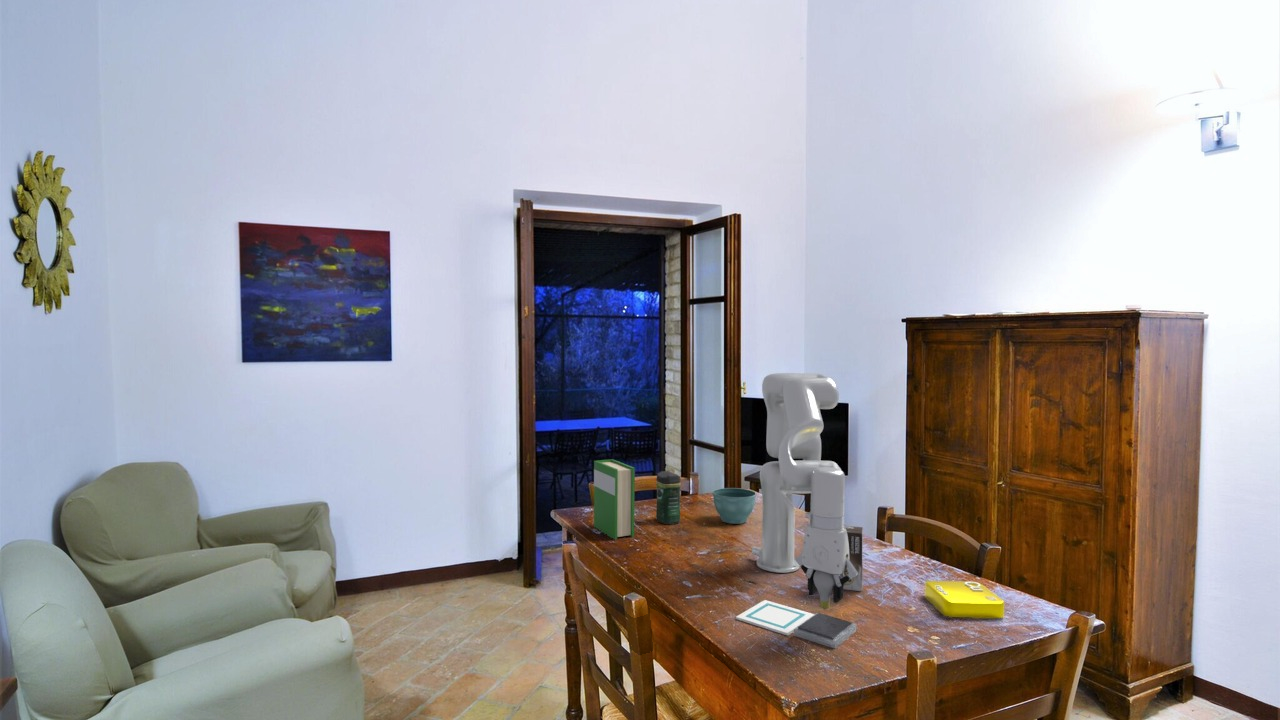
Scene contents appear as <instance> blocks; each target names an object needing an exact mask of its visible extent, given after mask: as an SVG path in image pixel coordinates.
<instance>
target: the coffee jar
mask: <svg viewBox="0 0 1280 720" xmlns="http://www.w3.org/2000/svg"><path fill="white" fill-rule="evenodd" d="M681 484H682V483H681V476H680V475H679V474H676V473H673V472H671V471H669V470H666V471H659V472H658V473H657V475H656V510H655V511H656V513H655V514H656V516H655V518H656V520H657V522H659V523H661V524H663V525H667V524H668V525H669V524H670V525H675V524H679V523H680V522H681Z"/></svg>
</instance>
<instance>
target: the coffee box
mask: <svg viewBox="0 0 1280 720" xmlns="http://www.w3.org/2000/svg"><path fill="white" fill-rule="evenodd" d="M844 528H845V529H846V531H847V536H848V543H849V560H850V562H851V563H852V565H853V566H854V568H855V569H856V570H857V572H858V575H857V576H855V577H854V578H852V579H850V580H849V581H847V582H846V583H845V584H844V588H843V590H848V591H856V592H862V591H863V587H864V585H863V583H864V581H863V580H864V578H863V573H864V572H863V570H864V569H863V567H864V561H863V558H864V557H863V555H864V552H863V549H864V547H863V543H864V538H863V537H864V533H863V531H864V530H863V526H862V527H861V526H853V525H851V526H850V525H844ZM847 574H849V572H848V570H844V576H846V575H847Z"/></svg>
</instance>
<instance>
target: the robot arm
mask: <svg viewBox="0 0 1280 720" xmlns="http://www.w3.org/2000/svg"><path fill="white" fill-rule="evenodd" d="M761 393H762V397H763V401H764V403H765V407H766V411H767V412H766V413H767V419H766V440H765V441H766V443H765V445H766V451H767V453H768V455H769V456H770V457H772V458H776V459H778V461H777V460H776V461H775V460H774V461H769V462H765V463H764V464H763V465H762V466H761V467H760V470H759V480H760V487H761V496H762V498H761V499H762V523H761V524H762V525H761V526H762V527H761V528H762V529H761V530H762V533H761V534H762V535H761V536H762V537H761V539H762V541H761V547H760V546H759V547H758V546H754V545H753V546H752V547H751V554H752V555H754V556H758V558H757V559H756V566H757V567H758V568H760V569H762V570H764V571H767V572H771V573H781V574H783V573H784V574H786V573H793V572H796V571H798V570H799V569H800V568H801V570H802V572H803V573H804V574H805V577H806V579H807V590H808V596H810V597H812V596H814V595H815V594H817V592H818V589H817V588H816V586H815V584H814V580H813V577H814V573H815V571H816V570H817V571H821V572H825V573H828V574H832V575H834V579H835V582H836V585H835V586H834V590H833V592H832V593H833V596H832V597H833V600H832V602H833V603H834V604H837V603H839V602H840V601H842V600H843V599H844V589H843V588H844V584H845V583H846V582H847V581H849V580H850V579H852V578H854V577H855V576H857V575H858V572H857V570H856V569H855V568H854V566H853V565H852V563H851V562H850V560H849V543H848V536H847V531H846V529H845V528H844V526H845V495H846V493H845V492H846V491H845V489H846V487H845V485H846V475H845V472H844V471H843V470H842V468H841V467H840V466H839V465H838V463H836V462H835V461H832V460H821V459H822V439H821V433H822V432H823V430H824V428H825V427H824V421H823V417H822V414H821V410H831V409H834V408H835V407H836V406H838V404H839V399H840V398H839V395H840V394H839V390H838V387H837V384H836V382H835V381H834V380H833V378H831V377H828V376H827V375H824V374H821V373H812V372H811V373H809V372H808V373H807V372H806V373H801V372H799V373H796V372H780V373H779V372H776V373H769V374H767V375H766V376H765V377H764V378H763V379H762V384H761ZM794 459H799V460H794ZM800 459H802V460H800ZM792 494H805V495H806V494H810V511H809V512H808V511H807V512H805V514H804V517H805V518H806V519H808V520H809V523H807V524H806V527H805V530H804V536H803V542H802V549H801V553H800V554H799V555H797V556H796V557H795V537H796V536H795V528H796V526H795V525H796V523H795V520H796V519H795V518H796V512H795V506H794V504H793V503H792V501H791V500H790V499H789V498H788V496H787V495H792ZM844 570H848V572H849V574H847V575H846V576H844Z"/></svg>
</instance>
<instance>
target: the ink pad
mask: <svg viewBox="0 0 1280 720" xmlns="http://www.w3.org/2000/svg"><path fill="white" fill-rule="evenodd" d="M857 625H858V624H857V623H854V622H853V621H848V620H845V619H841V618H839V617H834V616H832V615H831V616H830V615H827V614H824V613H821V612H816V613H815V615H813V616H812V617H810V618H809V619H807V620H806V621H804V622H803V623H802V624H800V625H799V626H797V627H796V628H794V632H793V636H794V637H797V638H800V639H804V640H807V641H809V642H813V643H816V644H819V645H822V646H825V647H828V648H832V649H836V648H838V647H839V646H840V645H842V644H843V643H844V642H845V641H846V640H847V639H849V638H850V637H851V636H853V635H854V634H855V633H856V632H857V631H858V629H857V628H858V626H857Z"/></svg>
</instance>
